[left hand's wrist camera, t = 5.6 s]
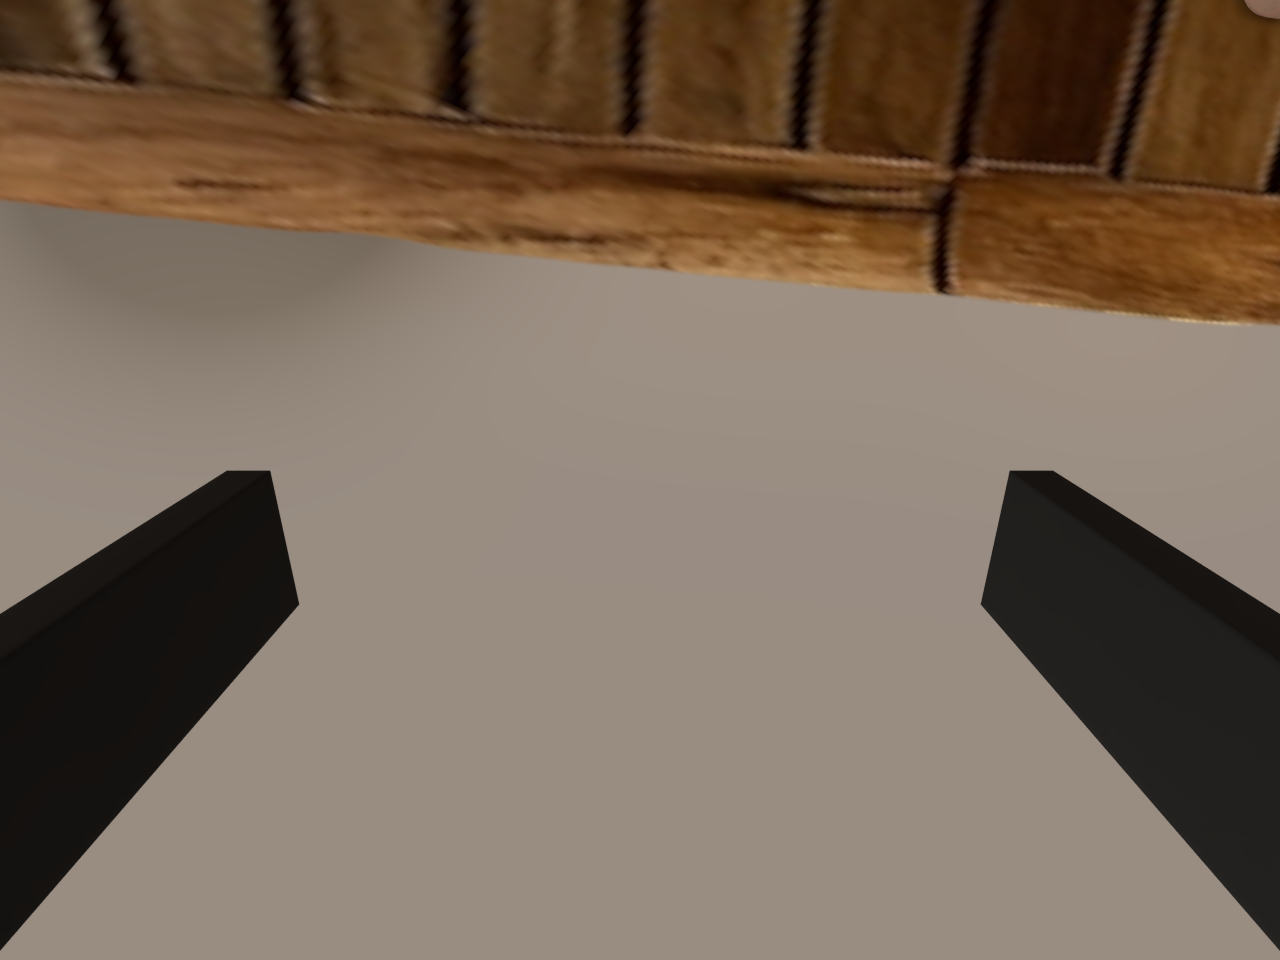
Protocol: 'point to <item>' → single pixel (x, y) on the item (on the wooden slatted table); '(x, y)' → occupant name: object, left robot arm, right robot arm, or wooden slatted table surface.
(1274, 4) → the anatomical model
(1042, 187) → the wooden slatted table surface
